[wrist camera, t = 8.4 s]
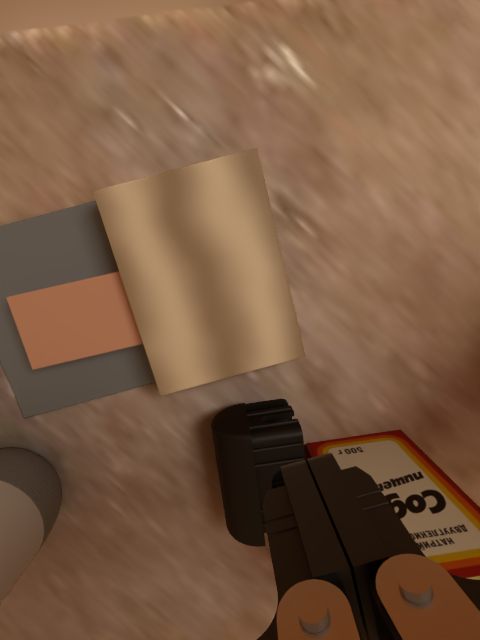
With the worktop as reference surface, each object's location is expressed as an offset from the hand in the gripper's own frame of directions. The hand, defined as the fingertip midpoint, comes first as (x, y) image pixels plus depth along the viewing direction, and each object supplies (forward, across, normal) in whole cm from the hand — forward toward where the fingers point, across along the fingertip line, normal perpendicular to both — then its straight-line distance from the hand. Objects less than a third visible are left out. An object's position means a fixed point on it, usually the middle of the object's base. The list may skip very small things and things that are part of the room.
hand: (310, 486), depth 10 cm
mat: (+23, +15, -5) cm, 28 cm away
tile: (+22, +13, -4) cm, 26 cm away
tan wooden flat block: (+23, +2, -5) cm, 23 cm away
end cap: (+23, +2, +12) cm, 26 cm away
